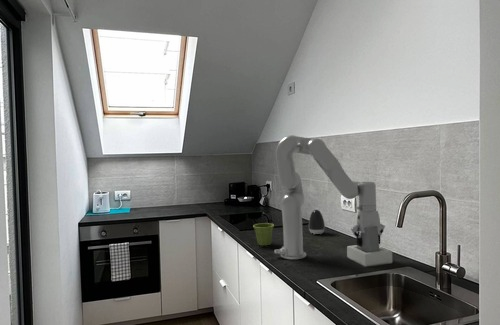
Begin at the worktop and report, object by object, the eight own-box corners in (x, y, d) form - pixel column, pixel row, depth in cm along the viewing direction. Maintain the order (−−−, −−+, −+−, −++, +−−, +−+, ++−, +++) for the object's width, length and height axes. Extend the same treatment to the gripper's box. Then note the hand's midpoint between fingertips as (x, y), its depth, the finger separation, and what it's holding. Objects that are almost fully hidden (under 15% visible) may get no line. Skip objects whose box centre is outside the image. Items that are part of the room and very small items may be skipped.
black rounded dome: (324, 231, 226) (323, 208, 225) (326, 235, 215) (325, 210, 215) (308, 231, 227) (307, 208, 226) (309, 235, 216) (308, 211, 216)
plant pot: (260, 241, 206) (259, 222, 206) (278, 243, 200) (277, 223, 200) (249, 246, 196) (249, 226, 196) (268, 248, 190) (267, 228, 190)
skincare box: (380, 260, 162) (379, 225, 162) (369, 262, 159) (368, 228, 158) (366, 255, 169) (365, 223, 169) (355, 258, 166) (354, 225, 166)
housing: (365, 266, 155) (365, 254, 155) (347, 257, 170) (346, 246, 169) (392, 263, 159) (392, 251, 159) (372, 254, 173) (372, 243, 173)
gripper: (355, 210, 158) (356, 248, 158) (388, 208, 162) (389, 244, 163) (346, 208, 165) (347, 244, 165) (378, 205, 170) (379, 241, 170)
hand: (368, 244), depth 164 cm, fingers open, 9 cm apart
